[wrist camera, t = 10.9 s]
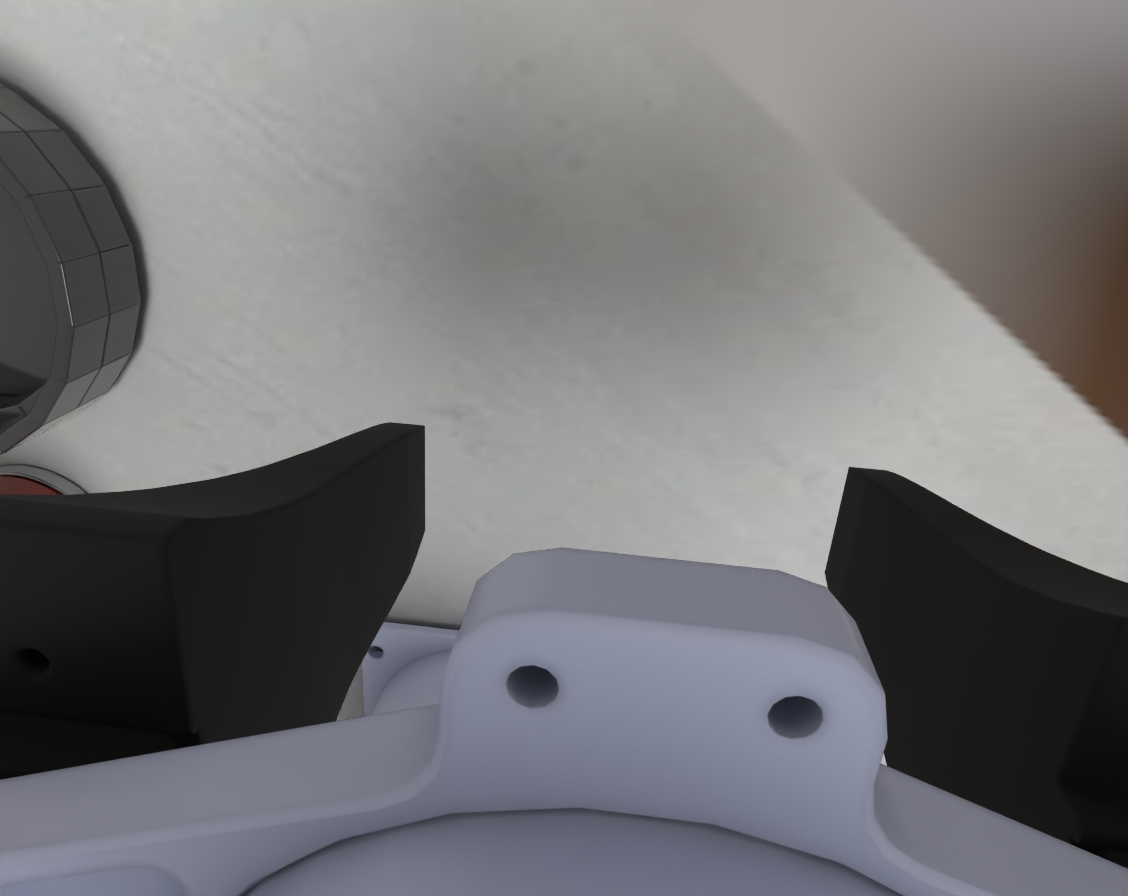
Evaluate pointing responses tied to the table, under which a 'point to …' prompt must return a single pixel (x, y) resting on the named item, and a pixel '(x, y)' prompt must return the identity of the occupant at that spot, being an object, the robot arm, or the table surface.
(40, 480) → the tin can
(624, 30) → the table surface
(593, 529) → the table surface
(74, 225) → the pan
